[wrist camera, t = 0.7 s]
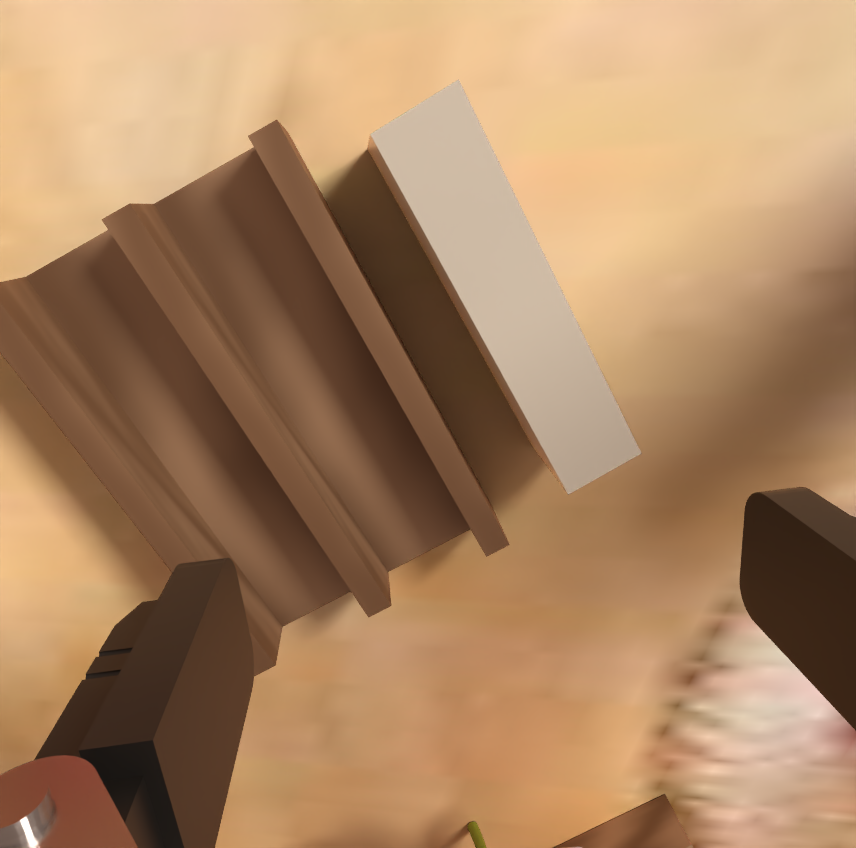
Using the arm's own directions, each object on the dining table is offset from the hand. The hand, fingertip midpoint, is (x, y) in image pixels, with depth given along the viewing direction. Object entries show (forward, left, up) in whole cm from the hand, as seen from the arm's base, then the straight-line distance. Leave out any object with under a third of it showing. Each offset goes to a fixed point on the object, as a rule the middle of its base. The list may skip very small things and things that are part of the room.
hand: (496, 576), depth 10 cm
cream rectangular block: (-4, 0, -22) cm, 22 cm away
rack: (+7, 0, -21) cm, 23 cm away
